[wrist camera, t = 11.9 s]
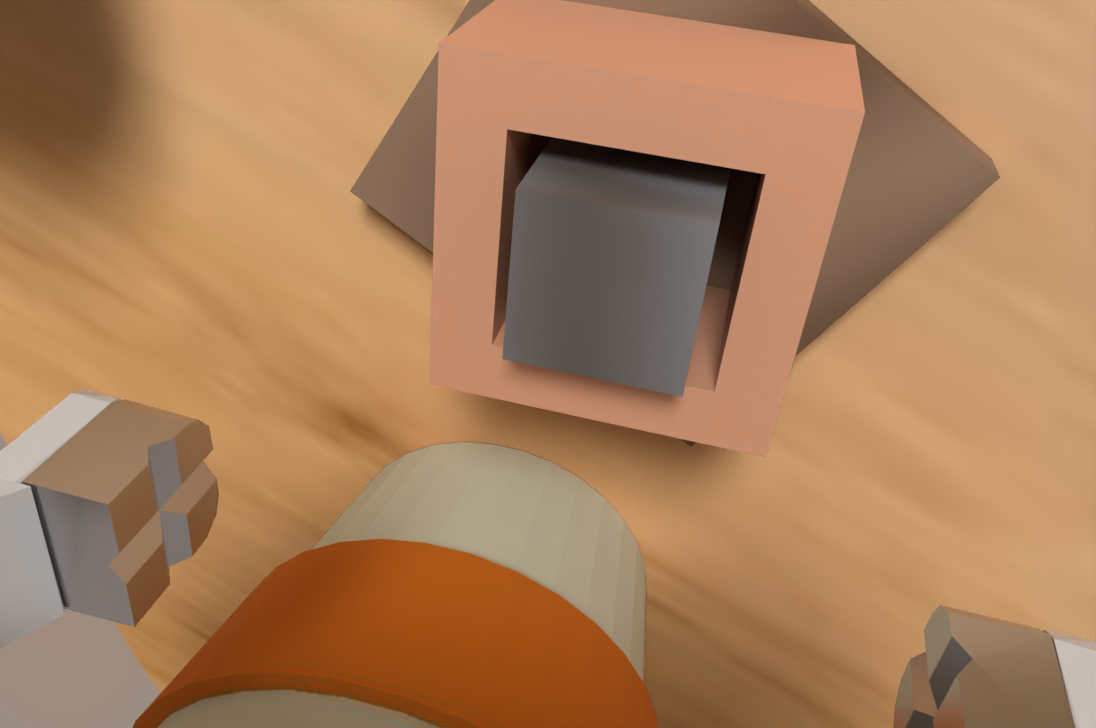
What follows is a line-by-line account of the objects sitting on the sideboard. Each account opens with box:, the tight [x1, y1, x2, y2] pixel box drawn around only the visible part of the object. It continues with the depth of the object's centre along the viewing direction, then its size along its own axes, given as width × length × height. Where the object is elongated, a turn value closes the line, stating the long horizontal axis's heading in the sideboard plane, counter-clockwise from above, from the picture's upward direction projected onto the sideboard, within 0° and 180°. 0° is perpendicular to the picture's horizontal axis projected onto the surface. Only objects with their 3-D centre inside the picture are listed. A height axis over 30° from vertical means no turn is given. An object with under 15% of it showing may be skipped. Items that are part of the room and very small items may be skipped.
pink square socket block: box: [430, 0, 865, 457], centre depth 18 cm, size 7×7×4 cm
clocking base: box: [350, 0, 1000, 447], centre depth 18 cm, size 10×9×6 cm
